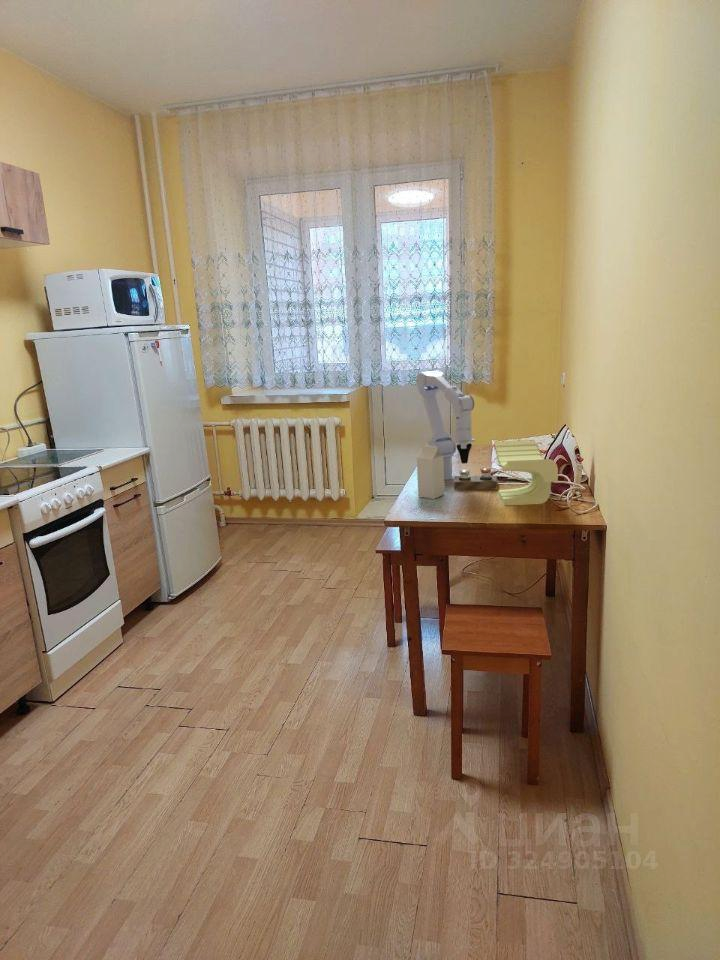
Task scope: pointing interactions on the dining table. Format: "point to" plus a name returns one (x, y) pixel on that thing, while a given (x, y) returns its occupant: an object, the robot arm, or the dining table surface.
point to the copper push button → (485, 473)
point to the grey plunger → (464, 474)
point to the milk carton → (430, 472)
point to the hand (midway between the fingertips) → (464, 463)
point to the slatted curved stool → (526, 460)
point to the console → (475, 483)
